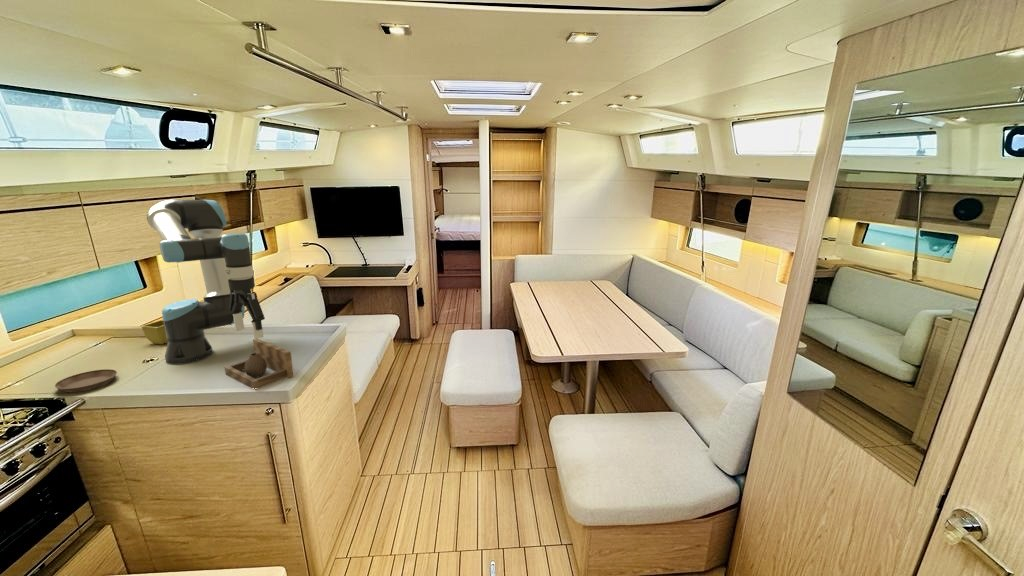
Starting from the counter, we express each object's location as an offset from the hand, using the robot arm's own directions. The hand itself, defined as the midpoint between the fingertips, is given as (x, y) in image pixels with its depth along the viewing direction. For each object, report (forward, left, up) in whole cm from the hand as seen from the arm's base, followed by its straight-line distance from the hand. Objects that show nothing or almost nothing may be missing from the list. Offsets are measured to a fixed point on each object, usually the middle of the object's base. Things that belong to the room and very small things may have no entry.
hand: (249, 334), depth 139 cm
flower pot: (-68, -6, -17) cm, 70 cm away
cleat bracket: (0, +1, -17) cm, 17 cm away
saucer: (-41, -35, -17) cm, 56 cm away
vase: (0, 0, -17) cm, 17 cm away
